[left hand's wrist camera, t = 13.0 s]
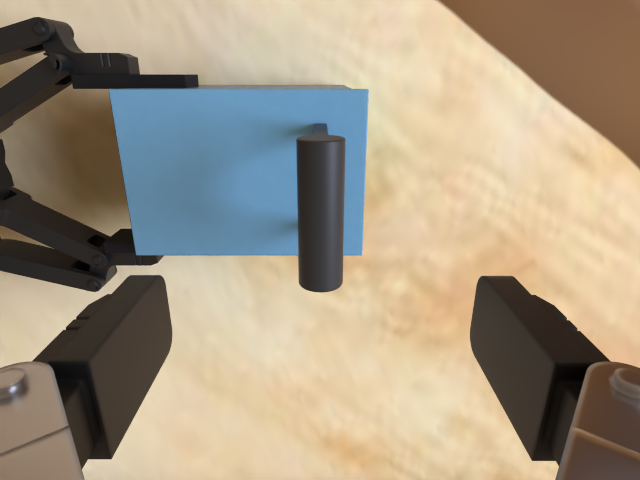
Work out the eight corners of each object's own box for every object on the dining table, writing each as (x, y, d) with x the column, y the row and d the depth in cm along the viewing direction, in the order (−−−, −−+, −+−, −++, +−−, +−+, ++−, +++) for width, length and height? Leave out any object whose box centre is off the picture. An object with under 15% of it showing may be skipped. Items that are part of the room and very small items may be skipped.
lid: (366, 89, 24) (391, 96, 16) (360, 249, 27) (378, 325, 19) (115, 88, 24) (9, 96, 15) (141, 249, 27) (65, 325, 19)
